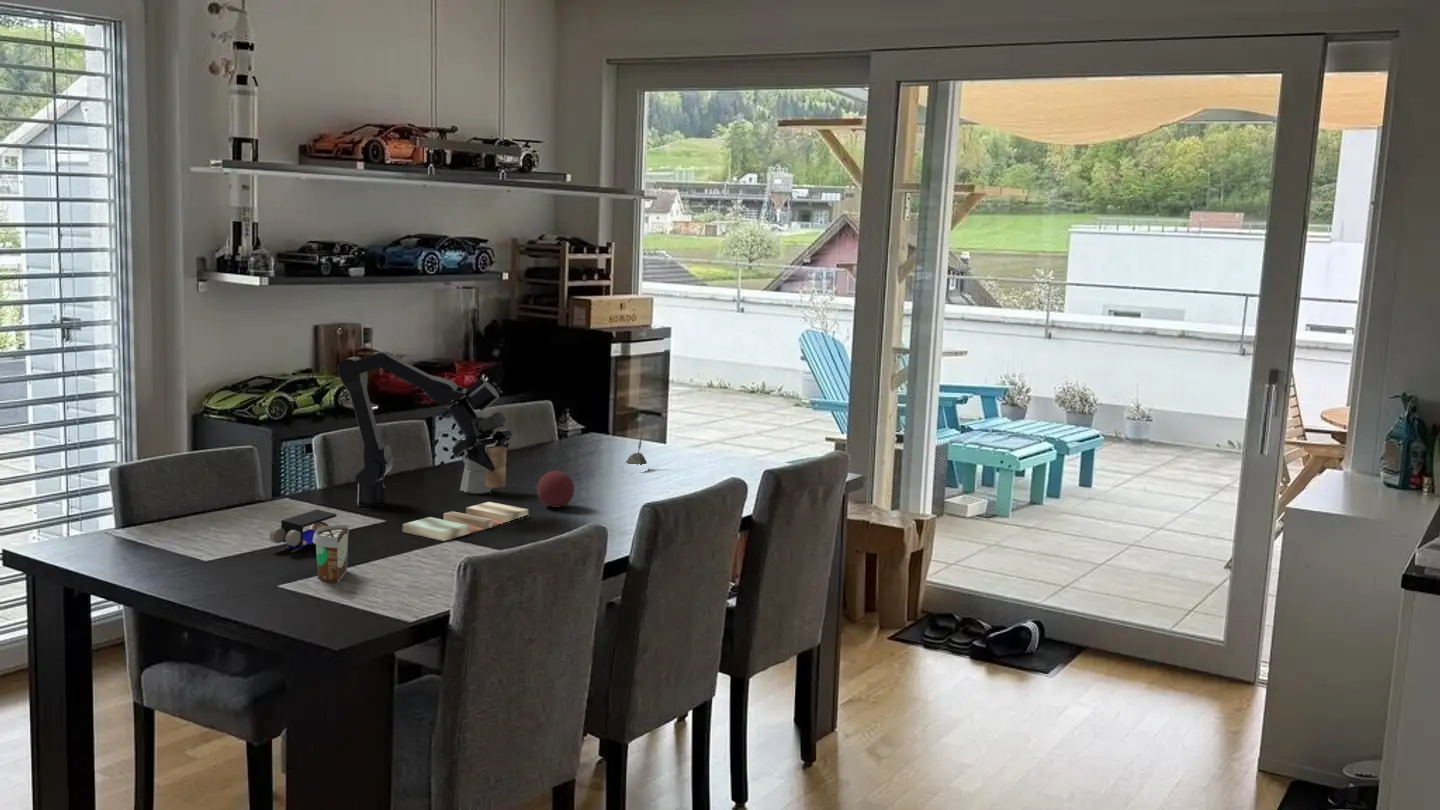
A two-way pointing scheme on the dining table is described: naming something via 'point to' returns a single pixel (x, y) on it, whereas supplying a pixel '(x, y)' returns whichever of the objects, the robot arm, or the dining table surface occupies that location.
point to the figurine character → (300, 529)
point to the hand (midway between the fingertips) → (500, 469)
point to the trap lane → (464, 521)
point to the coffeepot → (474, 475)
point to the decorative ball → (555, 489)
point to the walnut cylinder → (496, 467)
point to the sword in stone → (637, 457)
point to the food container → (331, 552)
